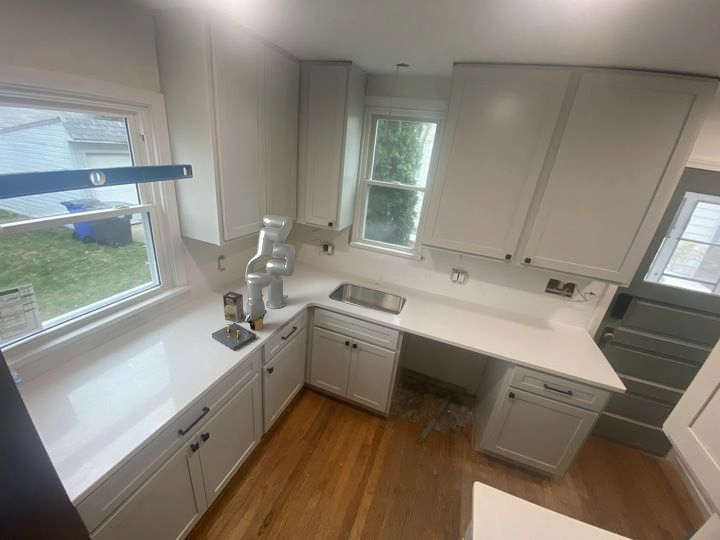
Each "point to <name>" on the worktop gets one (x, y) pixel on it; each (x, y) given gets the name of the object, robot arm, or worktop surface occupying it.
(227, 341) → the plate
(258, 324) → the tan cardboard cube
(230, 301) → the coffee box
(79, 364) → the worktop surface
